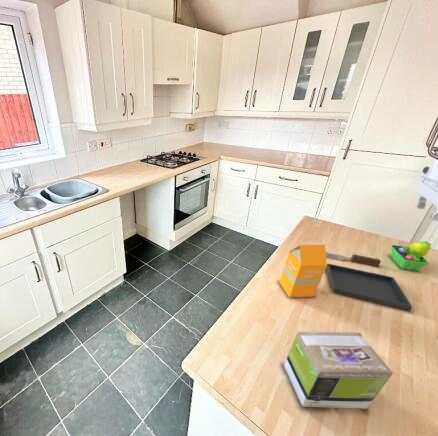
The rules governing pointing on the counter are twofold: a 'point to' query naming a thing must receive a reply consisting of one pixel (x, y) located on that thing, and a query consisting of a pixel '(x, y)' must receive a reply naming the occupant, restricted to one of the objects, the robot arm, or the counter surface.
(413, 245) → the fruit basket
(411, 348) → the counter surface
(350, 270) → the tray
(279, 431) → the counter surface
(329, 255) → the fork
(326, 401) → the tea box
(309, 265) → the orange juice
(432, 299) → the counter surface
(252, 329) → the counter surface
